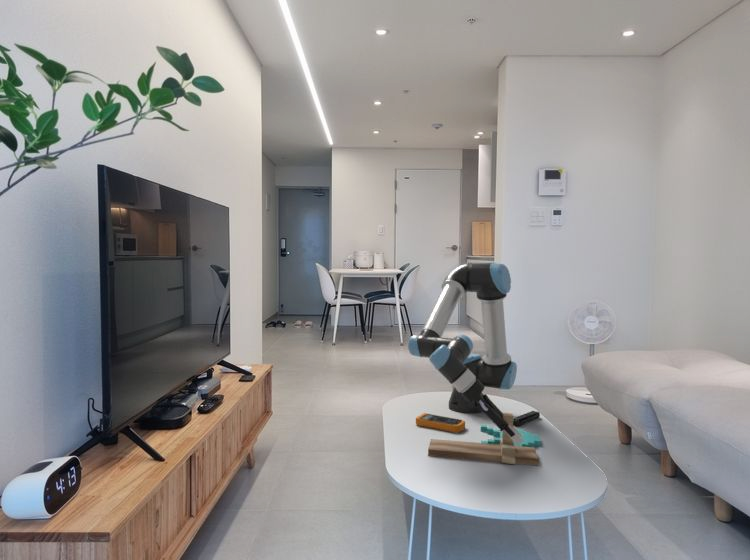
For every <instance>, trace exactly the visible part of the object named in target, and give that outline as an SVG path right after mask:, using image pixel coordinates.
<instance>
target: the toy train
mask: <svg viewBox="0 0 750 560" xmlns="http://www.w3.org/2000/svg"><path fill="white" fill-rule="evenodd" d="M540 417H541V414H540V412H539V411H535V410H531V411H529V412H526V413H523V414H521V415H518V416H516V417H513V426H514V427H515V428H518V427H521V426H523V425H526V424H528V423H531V422H532V421H535V420H537V419H538V420H539V419H540Z"/></svg>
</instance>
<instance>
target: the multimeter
mask: <svg viewBox="0 0 750 560" xmlns="http://www.w3.org/2000/svg"><path fill="white" fill-rule="evenodd" d="M415 424H416V426H417V425H418V426H419V427H423V426H424V428H430V429H435V430H439V431H444V430H445V432H449V431H450V433H454V432H458V433H461V432H462V431H463V430H465V428H466V421H465V420H464V419H459V418H454V417H448V416H441V415H437V414H432V413H431V414H430V413H426V412H423V413H422V414H420V415H418V416H416V417H415ZM418 426H417V427H418Z"/></svg>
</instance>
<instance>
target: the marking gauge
mask: <svg viewBox="0 0 750 560" xmlns="http://www.w3.org/2000/svg"><path fill="white" fill-rule="evenodd" d="M502 413H503V419H504V420H505V421H506V422H507V423H508V424H510V426H511V427H512V428H513V418H514V413H511V412H510V413H508V412H502ZM502 432H503V434H502V438H500V437H499V438H500V447H501V454H502V462H501V464H511V465H515V464H516V463H515V446H514V442H513V440H512V439H511V438H510V437H509V436H508V435H507V434H506V433H505V432H504V431H502Z"/></svg>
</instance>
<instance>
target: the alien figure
mask: <svg viewBox="0 0 750 560" xmlns="http://www.w3.org/2000/svg"><path fill="white" fill-rule="evenodd" d="M515 428H516V429H517V430H518V431H519V432H520V433H521V434H522V436H523V437H522V438H523V439H524V441H522V442H521V443H520V444H519V445H518V446H522V447H534V448H535V447H541V443H542V442H541V438H540V436H539V435H538V434H532V432H529V431H525V430H524V429H518V427H515ZM483 431H487V432H486V434H487V433H490V434H489V435H493V439H490V438H487V440H480V443H486V444H498V445H500V438H502V434H503V431H502V432H501V431H500V429H494V427H491V426H488V425H487V424H480V432H483ZM497 436H500V437H497ZM514 446H517V445H516V444H515V443H514ZM535 449H536V448H535Z"/></svg>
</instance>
